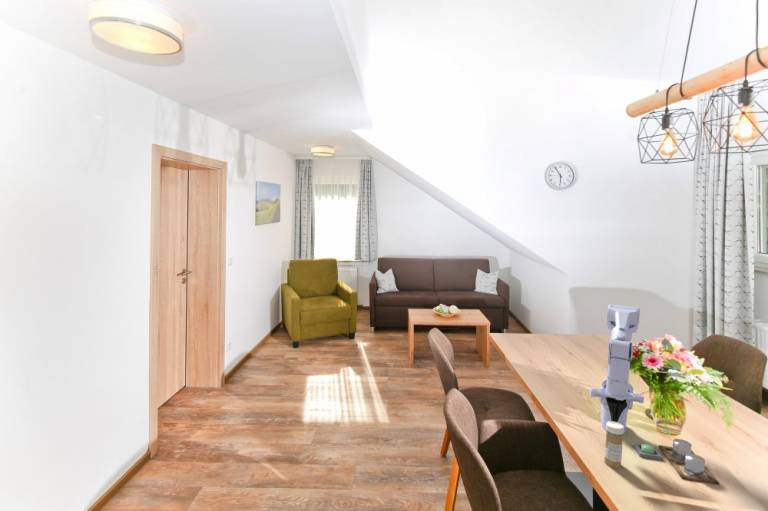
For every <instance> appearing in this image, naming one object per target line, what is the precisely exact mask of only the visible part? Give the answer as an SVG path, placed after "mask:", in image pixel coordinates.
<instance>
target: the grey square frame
mask: <svg viewBox="0 0 768 511" xmlns="http://www.w3.org/2000/svg"><path fill="white" fill-rule="evenodd" d="M642 444H643V443H636V442H635V443H634V442H633V445H632V447H633V449H634V450H635V452H636V453H637V455H638V457H639V458H644V459H652V460H659V461H663V455H662V454H661V453H660V451H659V450H658V449H657V446H655V445H652V446H653V447H654V448H655V449H654V454H651V453H644V452H642V451H641V445H642Z"/></svg>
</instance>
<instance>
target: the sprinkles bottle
mask: <svg viewBox="0 0 768 511" xmlns="http://www.w3.org/2000/svg"><path fill="white" fill-rule="evenodd" d="M605 432H606V434H605V442H604V461H603V462H604V464H605V465H606V466H608V467H610V468H611V469H612V468H613V469H619V468H621V466H622V459H623V458H622V454H623V444H624V443H623V438H624V434H625V433H624V426H623V425H622V424H620V423H618V422H614V421H609V422H607V423H606V430H605ZM623 433H624V434H623Z"/></svg>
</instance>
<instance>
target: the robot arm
mask: <svg viewBox="0 0 768 511" xmlns="http://www.w3.org/2000/svg"><path fill="white" fill-rule="evenodd" d="M640 316H641V308H640V307H639V306H636V307H635V306H629V305H628V306H627V305H618V304H612V303H610V304H608V305H607V311H606V320H607V321H606V325H607V328H608V329H609V331H610V332H611V333H610V340H608V344H607V364H608V365H607V375H606V378H605V379H603V380H602V381H601V384H600V388H589V396H590V397H591V398H592V397H593V398H595V397H597V398H599V403H600V404H601V408H600V419H599V420H600V422H601V427H602V429H604V430H605V431H606V423H607V422H609V421H614V422H618V423H620V424H622V425H623V426H624V433H623V435H624V434H625V433H626V432H627V423H628V422H627V421H628V414H629V411H631V410H632V409H633V406H634V402H637V403H638V404H645V401H644V400H645V397H644V396H643V394H638V393H634V388H633V385H632V384H631V383H629V378H630V369H631V368H630V367H631V361H632V359H633V353H634V351H633V350H634V344H633V340H632V338H633V337H632V336H633V334H635V333H637V331H638V330H639V324H640Z"/></svg>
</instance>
